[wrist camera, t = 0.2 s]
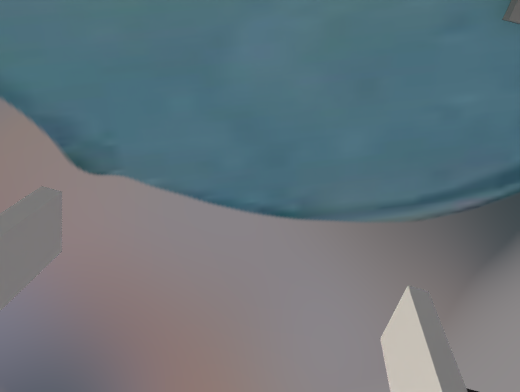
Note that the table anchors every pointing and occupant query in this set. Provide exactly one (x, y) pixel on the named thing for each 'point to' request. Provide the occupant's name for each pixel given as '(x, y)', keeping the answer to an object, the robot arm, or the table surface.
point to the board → (513, 12)
